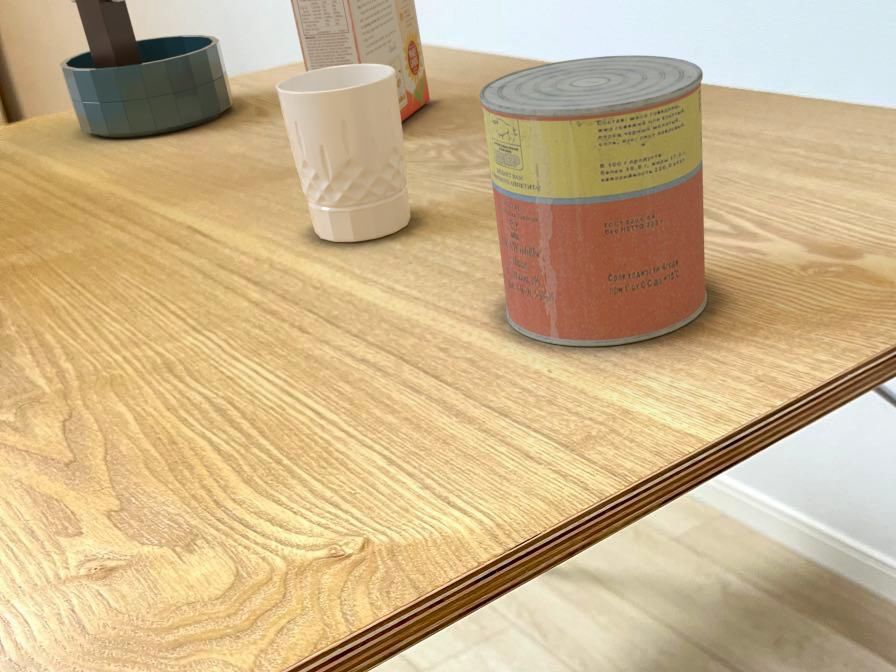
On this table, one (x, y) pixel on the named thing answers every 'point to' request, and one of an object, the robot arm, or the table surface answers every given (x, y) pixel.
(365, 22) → the cracker box
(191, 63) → the bowl
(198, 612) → the table surface
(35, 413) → the table surface
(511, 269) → the canned food
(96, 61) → the stick
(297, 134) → the white cup
